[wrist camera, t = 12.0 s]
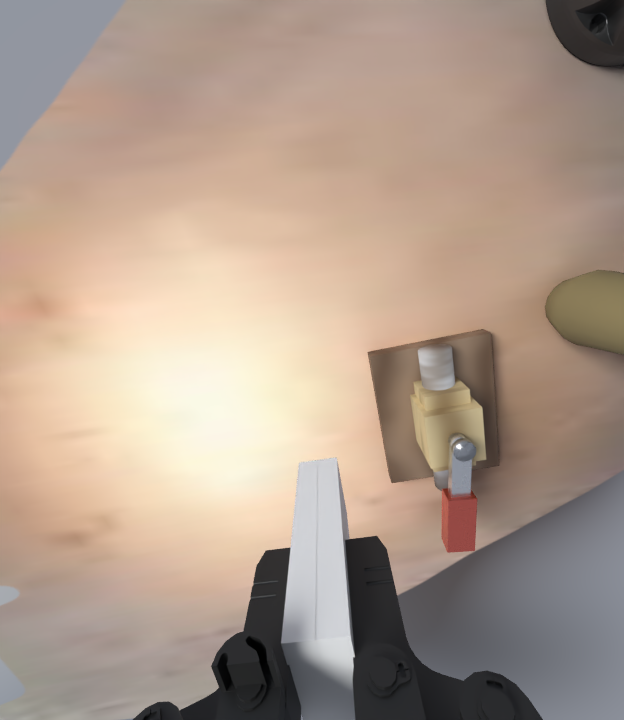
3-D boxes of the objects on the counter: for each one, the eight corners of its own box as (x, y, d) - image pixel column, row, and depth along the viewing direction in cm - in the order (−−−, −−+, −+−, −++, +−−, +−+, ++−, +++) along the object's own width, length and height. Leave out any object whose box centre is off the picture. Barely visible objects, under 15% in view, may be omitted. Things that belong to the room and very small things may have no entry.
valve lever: (442, 432, 36) (450, 443, 34) (471, 429, 36) (480, 441, 34) (441, 537, 41) (448, 553, 39) (467, 536, 41) (475, 552, 38)
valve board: (483, 329, 41) (519, 347, 34) (492, 456, 47) (525, 497, 39) (367, 352, 43) (377, 374, 35) (388, 473, 48) (401, 516, 40)
